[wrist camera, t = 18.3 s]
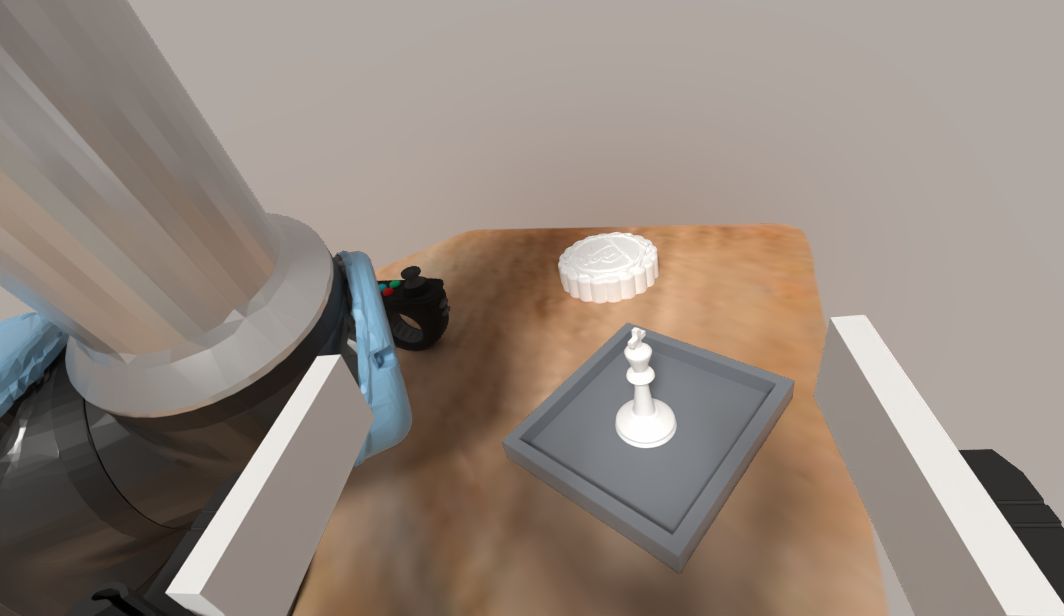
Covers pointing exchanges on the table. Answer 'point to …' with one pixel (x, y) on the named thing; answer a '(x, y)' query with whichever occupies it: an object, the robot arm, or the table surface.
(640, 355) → the chess piece
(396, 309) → the controller
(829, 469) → the table surface
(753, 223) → the table surface
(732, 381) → the tray
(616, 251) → the mooncake
